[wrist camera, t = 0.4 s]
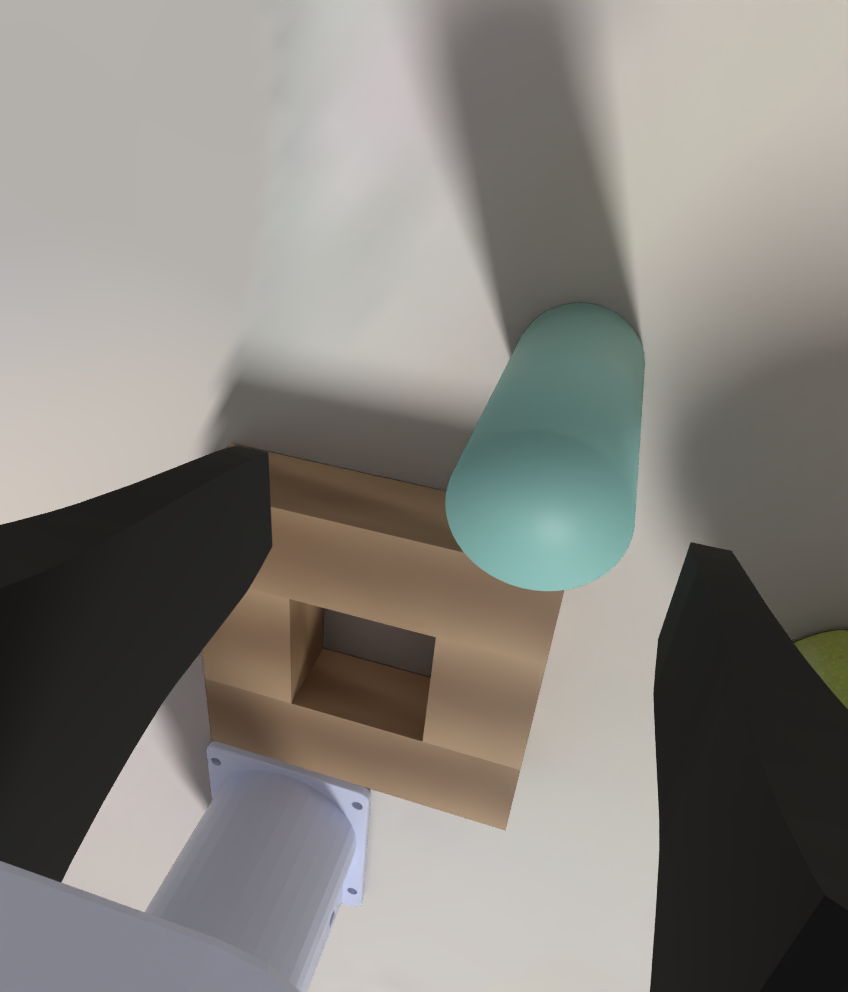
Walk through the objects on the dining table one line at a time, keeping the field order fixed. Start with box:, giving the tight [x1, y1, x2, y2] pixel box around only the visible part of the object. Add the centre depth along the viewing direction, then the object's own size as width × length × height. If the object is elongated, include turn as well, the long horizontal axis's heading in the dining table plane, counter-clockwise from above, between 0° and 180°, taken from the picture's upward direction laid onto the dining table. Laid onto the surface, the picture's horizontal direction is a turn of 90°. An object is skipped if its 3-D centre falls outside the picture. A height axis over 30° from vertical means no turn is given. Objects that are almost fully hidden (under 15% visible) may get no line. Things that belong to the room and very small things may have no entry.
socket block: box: [202, 444, 564, 830], centre depth 26 cm, size 12×12×3 cm
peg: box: [445, 303, 645, 591], centre depth 17 cm, size 4×4×8 cm
